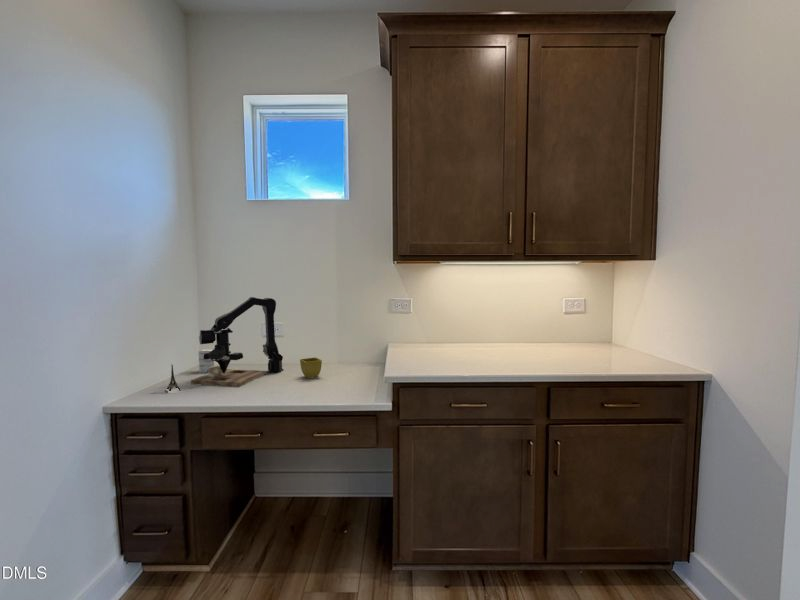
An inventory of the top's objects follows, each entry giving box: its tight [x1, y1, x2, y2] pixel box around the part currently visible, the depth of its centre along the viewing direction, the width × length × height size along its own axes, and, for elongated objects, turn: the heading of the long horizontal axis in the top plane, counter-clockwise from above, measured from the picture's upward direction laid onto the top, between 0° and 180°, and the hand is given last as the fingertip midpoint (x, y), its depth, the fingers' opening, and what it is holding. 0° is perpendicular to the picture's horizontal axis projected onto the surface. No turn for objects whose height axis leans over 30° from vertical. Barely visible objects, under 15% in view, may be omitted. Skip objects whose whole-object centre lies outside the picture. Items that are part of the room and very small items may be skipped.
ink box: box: [197, 349, 219, 373], centre depth 225 cm, size 8×5×12 cm, turn 84°
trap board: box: [190, 368, 266, 387], centre depth 208 cm, size 26×23×2 cm
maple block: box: [207, 365, 224, 376], centre depth 209 cm, size 5×5×4 cm
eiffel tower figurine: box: [166, 364, 181, 391], centre depth 189 cm, size 15×10×13 cm
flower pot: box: [299, 356, 323, 379], centre depth 211 cm, size 9×9×9 cm
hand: (223, 372), depth 208 cm, fingers closed
